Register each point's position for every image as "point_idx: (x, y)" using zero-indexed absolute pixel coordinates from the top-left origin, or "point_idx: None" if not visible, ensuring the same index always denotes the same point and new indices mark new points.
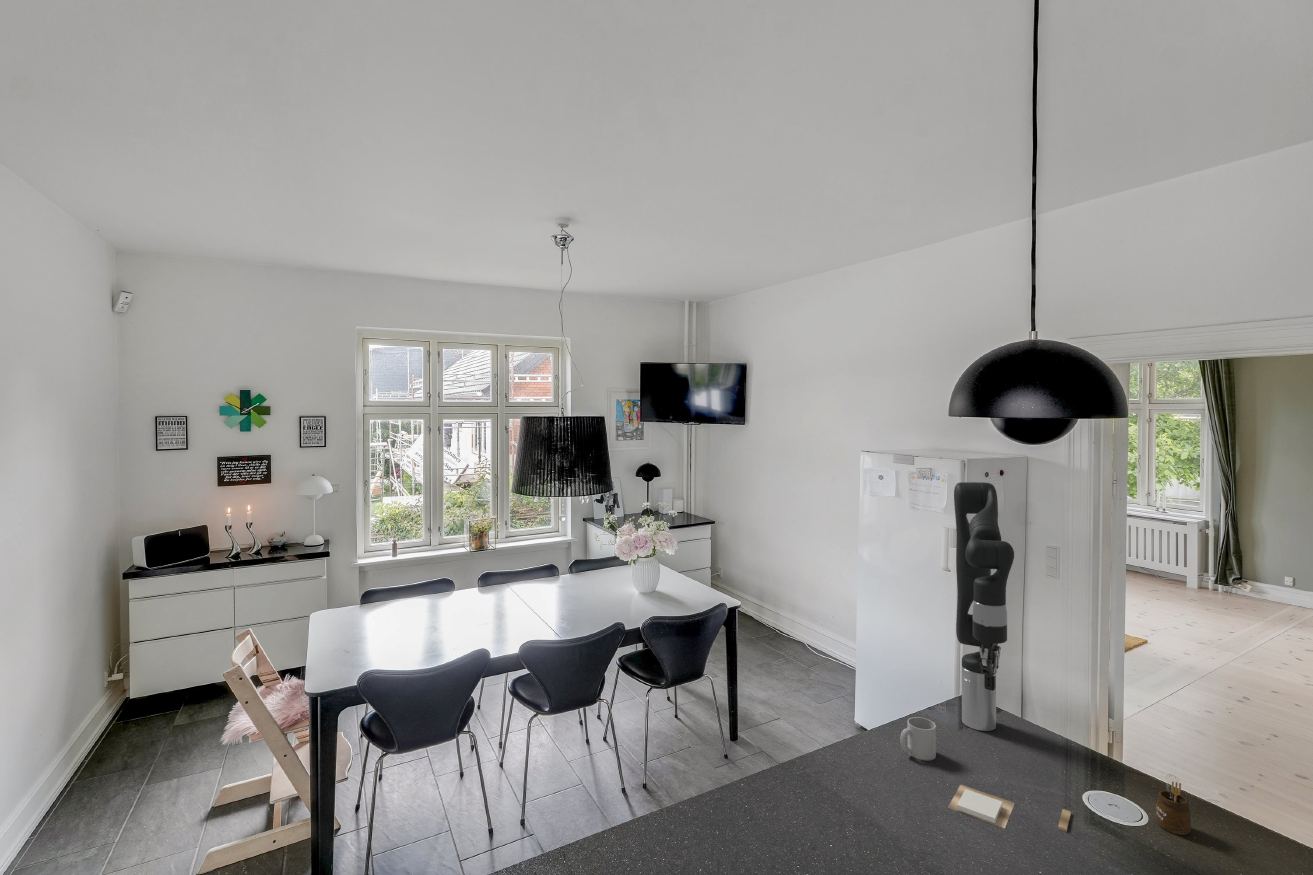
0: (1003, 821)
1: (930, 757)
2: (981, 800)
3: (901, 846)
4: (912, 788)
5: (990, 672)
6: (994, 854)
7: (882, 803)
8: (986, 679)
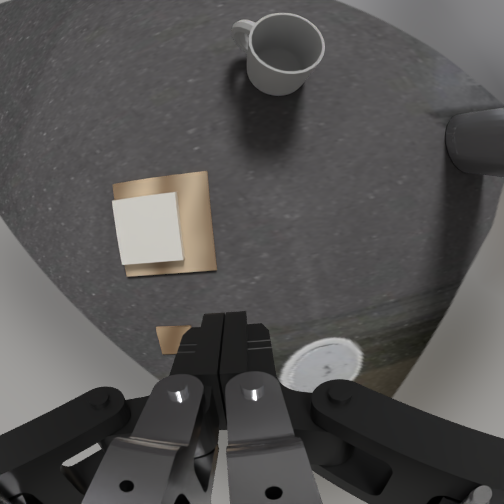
0: (143, 269)
1: (261, 89)
2: (157, 229)
3: (8, 180)
4: (134, 109)
5: (85, 462)
6: (69, 277)
7: (64, 103)
8: (176, 368)
